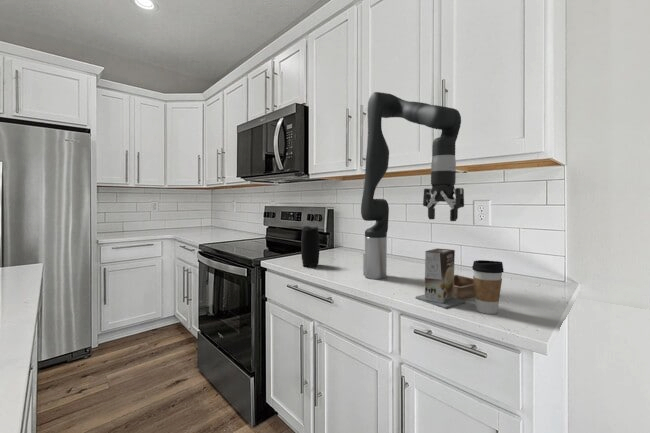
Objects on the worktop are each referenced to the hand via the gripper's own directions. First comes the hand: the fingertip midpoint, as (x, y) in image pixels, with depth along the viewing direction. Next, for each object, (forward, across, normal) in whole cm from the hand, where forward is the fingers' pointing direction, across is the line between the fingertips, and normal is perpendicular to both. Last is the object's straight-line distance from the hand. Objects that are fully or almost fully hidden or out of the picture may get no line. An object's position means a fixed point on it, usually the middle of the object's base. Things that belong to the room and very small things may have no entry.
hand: (442, 220), depth 106 cm
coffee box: (+26, 0, -1) cm, 26 cm away
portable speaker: (+27, -69, -12) cm, 75 cm away
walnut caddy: (+26, -2, +12) cm, 29 cm away
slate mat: (+26, +1, -1) cm, 27 cm away
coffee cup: (+27, +14, +3) cm, 30 cm away
